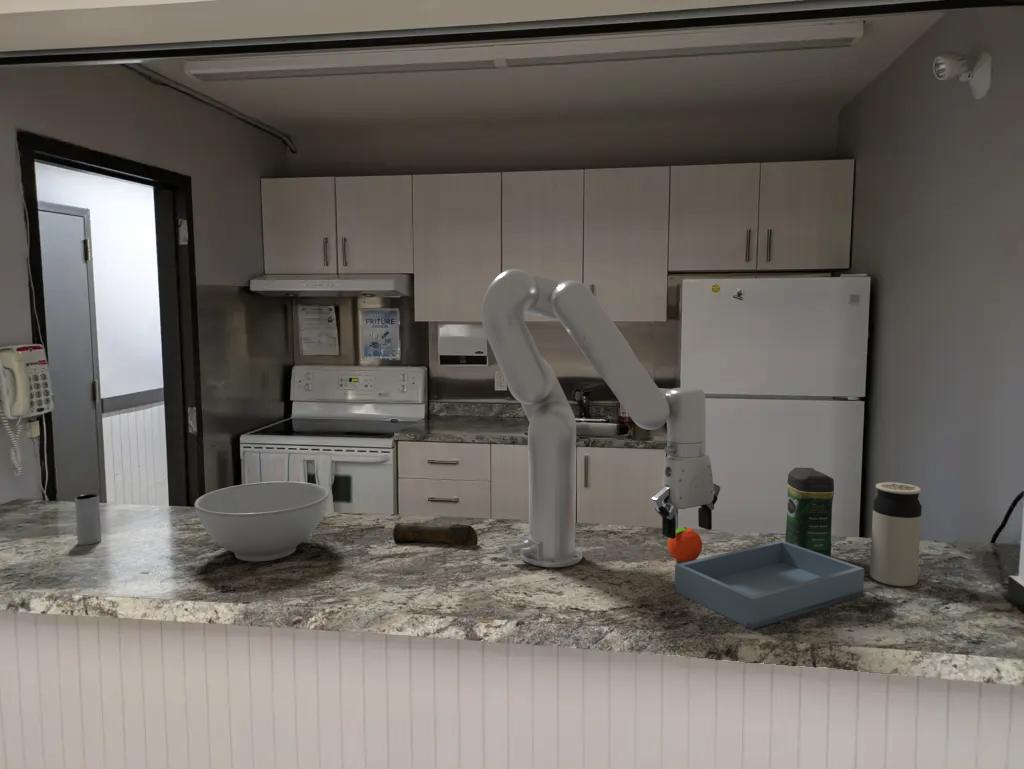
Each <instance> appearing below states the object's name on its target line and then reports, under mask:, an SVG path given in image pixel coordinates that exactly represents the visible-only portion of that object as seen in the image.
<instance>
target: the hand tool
mask: <svg viewBox="0 0 1024 769" xmlns="http://www.w3.org/2000/svg"><path fill="white" fill-rule="evenodd" d="M392 534H393V541H394V542H398V541H400V542H402V543H403V541H406V542H407V541H408V542H410V541H411V542H412V541H413V542H427V543H428V542H429V543H430V542H431V543H443V544H444V543H445V544H449V545H450V546H451V547H468V546H476V545H478V543H479V542H478V539H479V538H478V533H477V532H476V530H475V528H474V527H472V526H471V524H470V525H469V524H460V523H456V524H451V525H450V526H448V527H444V526H443V527H442V526H441V527H439V526H437V527H436V526H420V525H410V524H409V525H408V524H407V525H405V524H404V525H403V524H402V523H401V524H400V523H396V524H395V525H394V527H393V531H392Z"/></svg>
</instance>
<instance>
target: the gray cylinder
mask: <svg viewBox="0 0 1024 769" xmlns="http://www.w3.org/2000/svg"><path fill="white" fill-rule="evenodd" d="M74 504H75V505H74V506H75V518H76V519H75V520H76V523H75V524H76V535H77V536H76V537H77V544H78V545H81V546H86V545H95V544H97V543H101V541H102V529H101V528H102V525H101V510H100V495H99V494H97V493H90V494H89V493H87V494H80V495H77V496H76V497H75V498H74Z"/></svg>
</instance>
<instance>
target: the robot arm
mask: <svg viewBox="0 0 1024 769" xmlns="http://www.w3.org/2000/svg"><path fill="white" fill-rule="evenodd" d="M527 314H528V315H532V316H536V317H541V318H547V319H551V320H557V321H559V322H560V323H561V325H562V326H563V328H564V329H565V331H566V332H567V333H568V335H569V336H570V338H572V340H573V342H574V343H575V345H577V347H578V348H579V350H580V351H581V353H582V354H583V355H584V357H585V358H586V360H587V361H588V363H589V364H590V365H591V367H592V368H593V370H594V371H595V372H596V373H597V374H598V375H599V377H601V378H602V379H603V381H604V382H605V383H606V384H607V386H608V387H609V389H610V390H611V391H612V393H613V394H614V396H615V397H616V399H617V400H618V401H619V404H621V406H622V407H623V408H624V409H625V412H626V413H627V414H628V415H629V417H630V418H631V420H632V422H633V423H635V425H637V426H638V427H639V428H641V429H644V430H649V431H651V430H652V431H653V430H657V429H659V428H662V427H663V426H664V425H665V424H666V445H667V446H665V447H664V453H665V454H666V455H667V456H665V459H664V464H663V472H662V486H661V487H662V489H661V490H660V491H659V492H657V493H656V494H655V495H653V496H652V498H651V502H652V504H653V506H654V510H655V511H656V512H657V514H658V516H660V517H661V520H662V522H661V524H662V525H661V527H662V530H661V532H662V535H663V536H664V537H666V538H671V539H674V538H675V537H676V528H677V527H676V524H677V523H676V518H674V516H675V515H676V513H677V511H678V510H686V509H687V510H688V509H691V508H697V507H698V510H697V512H698V516H697V518H698V520H697V521H698V523H697V524H698V527H699V528H702V529H705V530H708V531H711V530H712V529H713V526H712V525H713V522H712V521H713V520H712V519H713V517H712V516H713V515H712V513H713V512H712V511H714V510H715V504H717V501H718V500H719V499H718V496H719V493H720V491H721V486H720V485H718V484H716V483H715V482H714V477H713V469H712V464H711V460H710V455H709V454H707V445H706V444H707V441H706V435H707V434H706V432H707V430H706V429H707V428H706V426H707V425H706V394H705V391H704V390H702V389H701V388H699V387H688V386H687V387H674V388H662V387H661V388H659V387H658V385H657V384H656V382H655V381H654V380H653V379H652V377H651V376H650V374H649V373H648V371H647V370H646V368H644V366H643V364H642V363H641V362H640V360H639V359H638V357H637V356H636V355H635V353H634V351H633V349H632V348H631V346H630V344H629V342H628V341H627V339H626V338H625V336H624V335H623V334H622V332H621V331H620V330H619V328H618V327H617V325H616V324H615V323H614V321H613V320H612V319H611V317H610V315H609V314H608V313H607V312H606V309H604V307H603V306H602V305H601V303H600V302H599V300H598V299H597V298H596V296H595V294H594V293H593V292H592V290H591V289H590V288H589V287H588V286H587V285H586V284H585V283H584V282H582V281H579V280H575V279H574V280H570V279H569V280H562V279H557V278H552V277H546V276H543V275H542V276H541V275H538V274H537V275H536V274H534V273H529V272H527V271H525V270H522V269H519V268H510V269H506V270H505V271H503V272H501V273H500V274H499V275H497V276H496V277H495V278H494V280H492V282H491V283H490V285H489V286H488V288H487V290H486V292H485V294H484V296H483V300H482V304H481V310H480V315H481V324H482V329H483V332H484V334H485V337H486V340H487V342H488V343H489V346H490V348H491V351H492V353H493V355H494V358H495V360H496V363H497V365H498V367H499V369H500V371H501V373H502V376H503V377H504V381H505V383H506V385H507V388H508V390H509V393H510V394H511V396H513V398H514V399H515V400H516V401H517V402H519V403H520V404H521V407H522V409H523V411H524V413H525V415H526V417H527V420H528V422H529V425H528V429H527V453H528V457H527V458H528V535H525V536H523V537H524V538H523V540H521V541H520V542H519V543H510V544H508V545H507V553H508V554H509V555H513V554H518V553H519V555H520V557H521V558H522V560H523V562H525V563H527V564H530V565H533V566H536V567H542V568H566V567H570V566H573V565H576V564H578V563H579V562H581V561H582V560H583V552H582V550H581V549H580V548H579V547H576V546H575V545H576V544H575V543H576V540H575V539H576V538H575V537H576V536H575V535H576V534H575V533H576V450H577V449H576V447H577V445H576V444H577V423H576V416H575V414H574V411H573V410H572V407H571V405H570V402H569V401H568V398H567V396H566V395H565V392H564V389H563V388H562V386H561V384H560V382H559V379H558V377H557V375H556V373H555V370H554V368H553V367H552V366H551V364H550V363H549V362H548V361H547V360H546V359H545V358H543V356H542V355H541V353H540V352H539V350H538V348H537V345H536V343H535V341H534V338H533V335H532V334H531V331H530V330H529V328H528V326H527V324H526V320H525V315H527Z"/></svg>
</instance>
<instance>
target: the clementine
mask: <svg viewBox="0 0 1024 769" xmlns="http://www.w3.org/2000/svg"><path fill="white" fill-rule="evenodd" d="M666 542H667V545H666V546H667V549H668V551H669V552H668V553H669V554H670V555H671V556H672V557H673V559H675V560H676V561H678V562H680V563H684V562H689V561H693V560H697V558H699V556H700V555H701V553H702V549H703V541H702V539H701V537H700V534H698V532H697V531H695V530H694V529H692V528H689V527H685V526H683V527H678V528H677V529H676V537H675V538H674V539H671V538H669V537H667V541H666Z"/></svg>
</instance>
